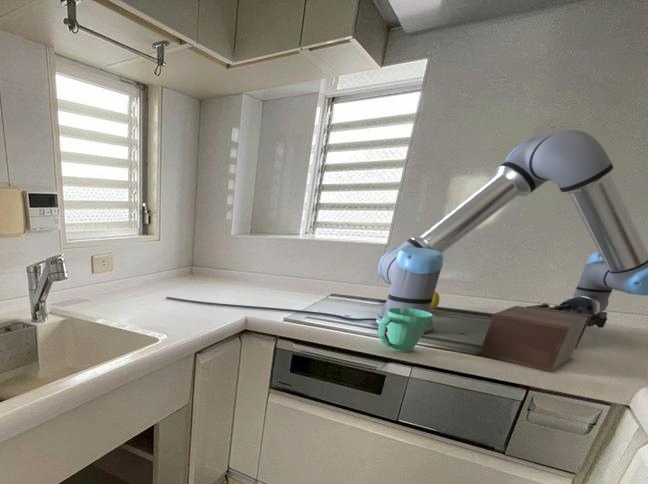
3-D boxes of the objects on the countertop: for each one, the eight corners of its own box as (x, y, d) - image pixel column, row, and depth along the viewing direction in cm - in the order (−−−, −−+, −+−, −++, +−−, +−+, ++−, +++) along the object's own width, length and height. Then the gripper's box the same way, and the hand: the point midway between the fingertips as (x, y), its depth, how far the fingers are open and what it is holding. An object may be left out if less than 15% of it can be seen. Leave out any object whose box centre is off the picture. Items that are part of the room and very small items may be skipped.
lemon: (415, 309, 148) (420, 288, 145) (431, 310, 147) (437, 288, 144) (421, 313, 143) (427, 291, 140) (438, 314, 142) (445, 291, 139)
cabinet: (502, 344, 111) (515, 305, 107) (570, 358, 100) (588, 316, 96) (479, 355, 103) (493, 313, 99) (550, 372, 92) (569, 326, 88)
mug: (396, 341, 113) (404, 306, 109) (430, 352, 105) (441, 314, 101) (358, 348, 108) (366, 311, 104) (392, 360, 99) (402, 320, 96)
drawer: (522, 333, 117) (533, 303, 113) (582, 345, 107) (596, 312, 104) (496, 345, 107) (508, 312, 103) (560, 359, 97) (575, 323, 94)
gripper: (626, 330, 112) (606, 344, 100) (526, 314, 129) (499, 325, 117) (638, 303, 109) (620, 315, 97) (535, 290, 126) (508, 299, 114)
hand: (554, 320), depth 107 cm, fingers closed on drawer, 9 cm apart
